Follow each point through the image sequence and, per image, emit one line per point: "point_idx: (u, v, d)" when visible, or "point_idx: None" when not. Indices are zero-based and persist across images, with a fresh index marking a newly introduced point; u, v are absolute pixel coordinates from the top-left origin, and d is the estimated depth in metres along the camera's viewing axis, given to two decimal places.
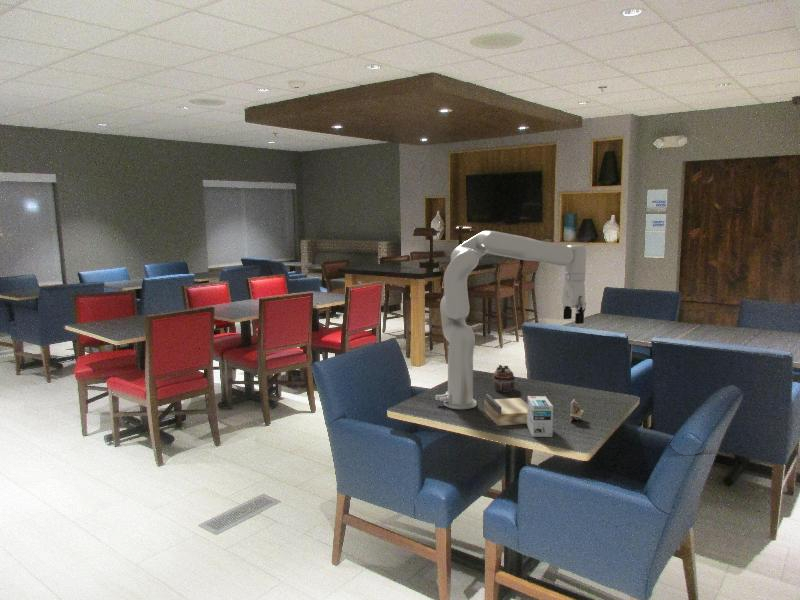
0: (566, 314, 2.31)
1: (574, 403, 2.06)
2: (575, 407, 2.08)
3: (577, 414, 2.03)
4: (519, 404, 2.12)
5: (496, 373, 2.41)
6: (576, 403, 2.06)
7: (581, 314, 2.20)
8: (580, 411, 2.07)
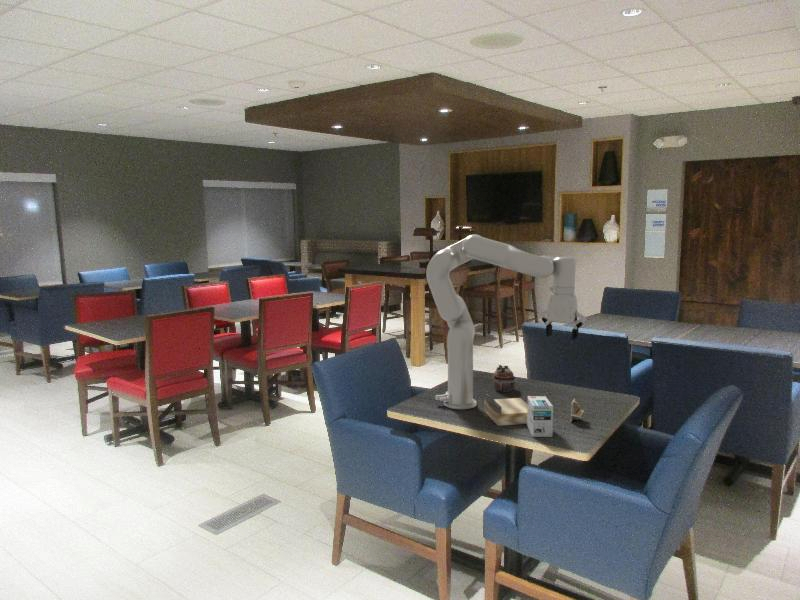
0: (549, 331, 2.15)
1: (574, 403, 2.06)
2: (575, 407, 2.08)
3: (577, 414, 2.03)
4: (519, 404, 2.12)
5: (496, 373, 2.41)
6: (576, 403, 2.06)
7: (577, 329, 2.09)
8: (580, 411, 2.06)
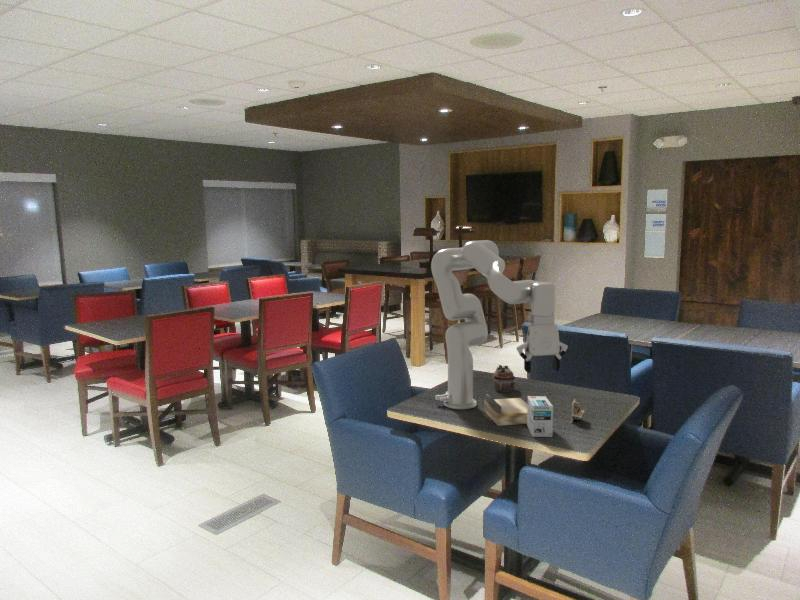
0: None
1: (575, 403, 2.06)
2: (576, 407, 2.08)
3: (578, 414, 2.03)
4: (519, 404, 2.12)
5: (496, 373, 2.41)
6: (577, 403, 2.05)
7: None
8: (581, 411, 2.06)
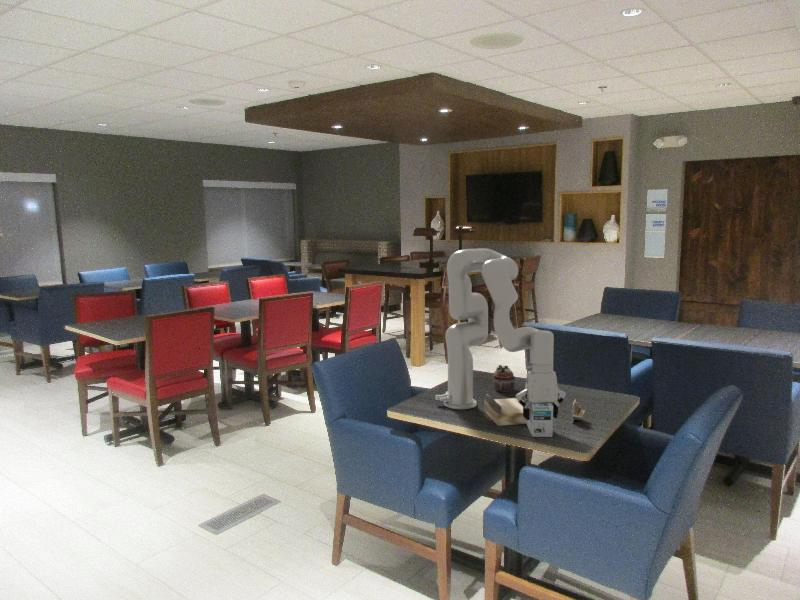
0: None
1: (576, 403, 2.06)
2: (576, 407, 2.08)
3: (579, 415, 2.03)
4: (519, 404, 2.12)
5: (496, 373, 2.41)
6: (577, 403, 2.05)
7: None
8: (581, 411, 2.06)
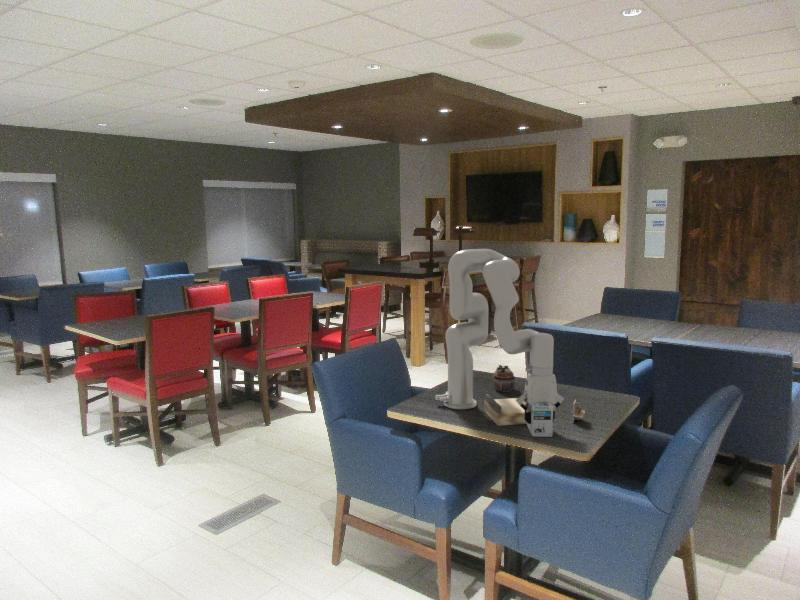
0: None
1: (576, 404, 2.06)
2: (576, 408, 2.08)
3: (580, 415, 2.03)
4: None
5: (496, 373, 2.41)
6: (578, 403, 2.05)
7: None
8: (582, 411, 2.06)
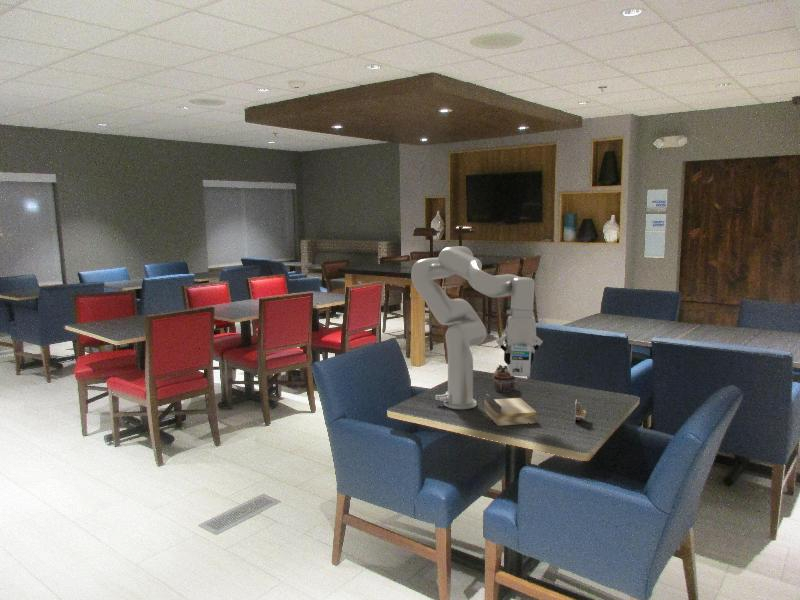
0: None
1: (577, 404, 2.06)
2: (577, 408, 2.08)
3: (582, 415, 2.03)
4: (519, 404, 2.12)
5: (496, 373, 2.41)
6: (579, 403, 2.05)
7: None
8: (583, 411, 2.06)
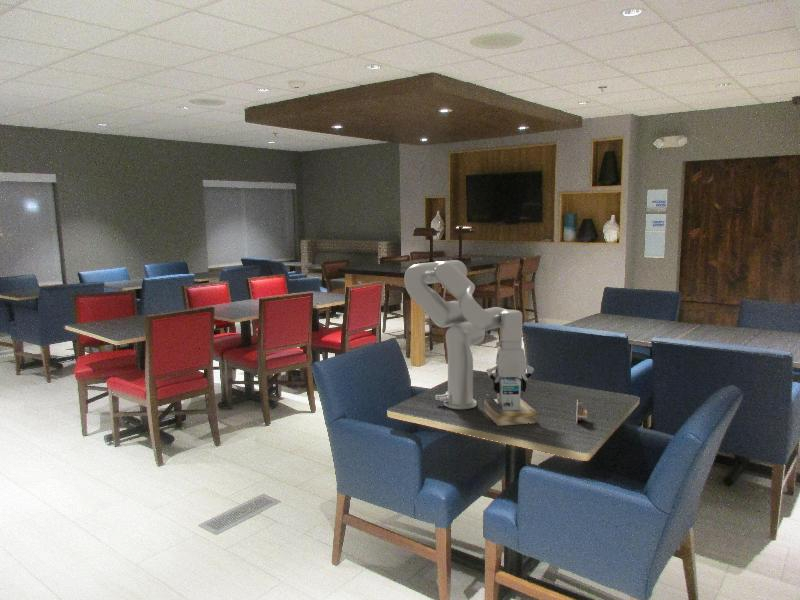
0: None
1: (579, 404, 2.05)
2: (578, 408, 2.08)
3: (584, 415, 2.03)
4: None
5: None
6: (581, 404, 2.05)
7: None
8: (584, 411, 2.06)
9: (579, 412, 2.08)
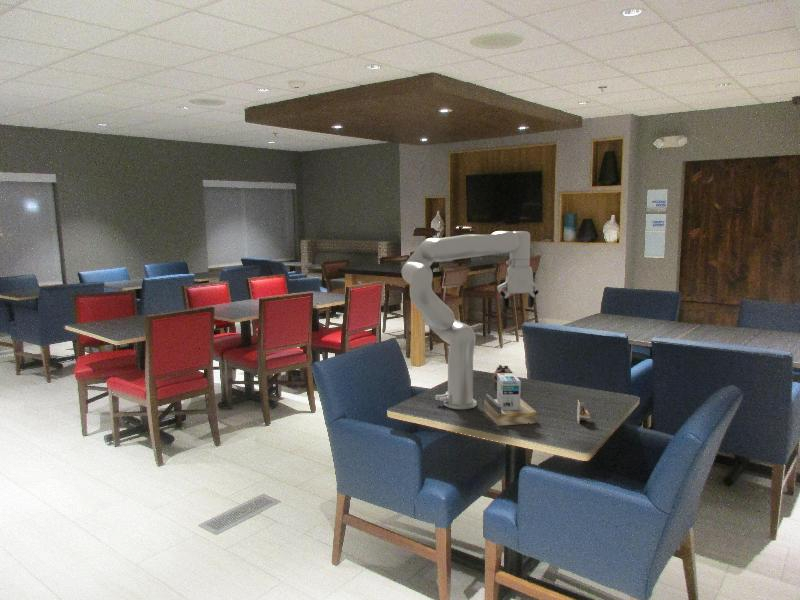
0: None
1: (580, 404, 2.05)
2: (579, 408, 2.08)
3: (586, 415, 2.03)
4: None
5: (496, 373, 2.41)
6: (582, 404, 2.05)
7: None
8: (585, 411, 2.06)
9: (580, 412, 2.08)
